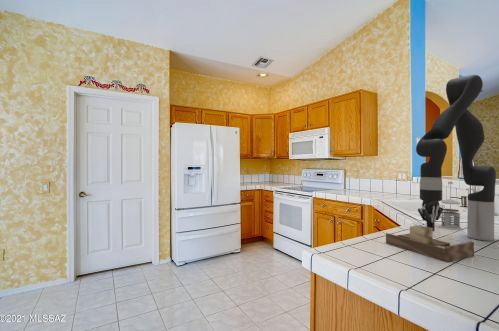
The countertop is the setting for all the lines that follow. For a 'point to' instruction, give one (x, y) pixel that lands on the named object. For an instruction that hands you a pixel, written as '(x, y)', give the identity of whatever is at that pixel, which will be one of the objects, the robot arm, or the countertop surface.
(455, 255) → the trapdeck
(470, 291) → the countertop surface
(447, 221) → the french press
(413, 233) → the block
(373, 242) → the countertop surface
